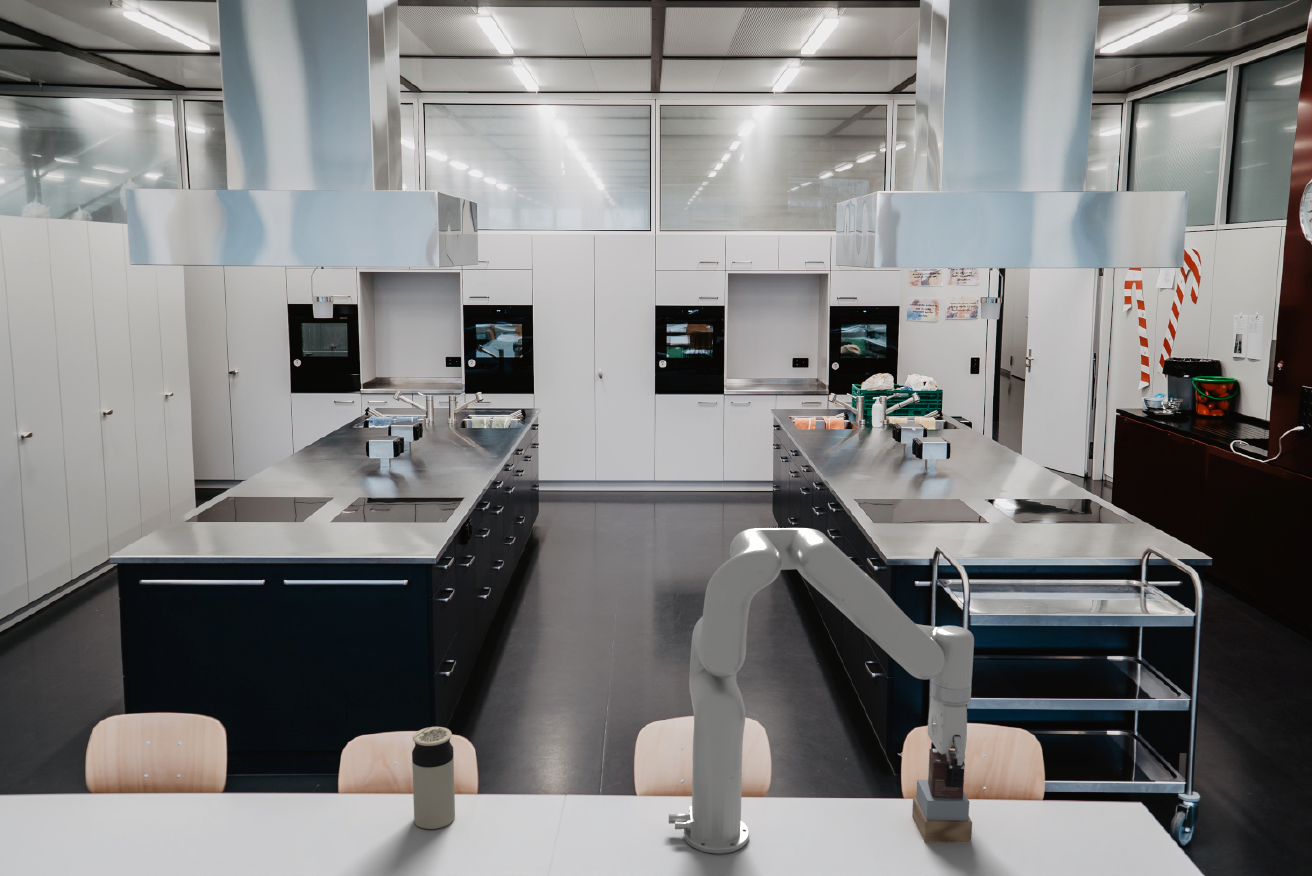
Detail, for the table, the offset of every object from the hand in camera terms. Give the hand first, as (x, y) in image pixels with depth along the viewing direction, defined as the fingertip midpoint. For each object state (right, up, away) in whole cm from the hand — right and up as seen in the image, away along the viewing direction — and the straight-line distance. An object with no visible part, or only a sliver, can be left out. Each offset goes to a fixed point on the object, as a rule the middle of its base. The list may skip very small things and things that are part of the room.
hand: (945, 773), depth 186 cm
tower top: (0, -8, +1) cm, 8 cm away
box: (0, -4, 0) cm, 4 cm away
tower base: (0, -12, +2) cm, 12 cm away
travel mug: (-101, -11, +4) cm, 102 cm away
